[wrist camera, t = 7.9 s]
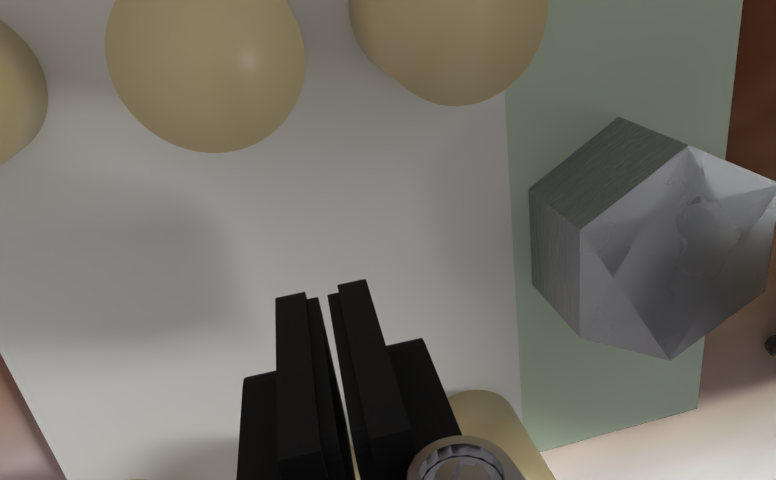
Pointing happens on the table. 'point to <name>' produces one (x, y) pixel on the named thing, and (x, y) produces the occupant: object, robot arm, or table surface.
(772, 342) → the alarm clock
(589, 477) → the table surface
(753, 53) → the table surface
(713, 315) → the grey faceted block
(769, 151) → the table surface
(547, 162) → the spacer board
